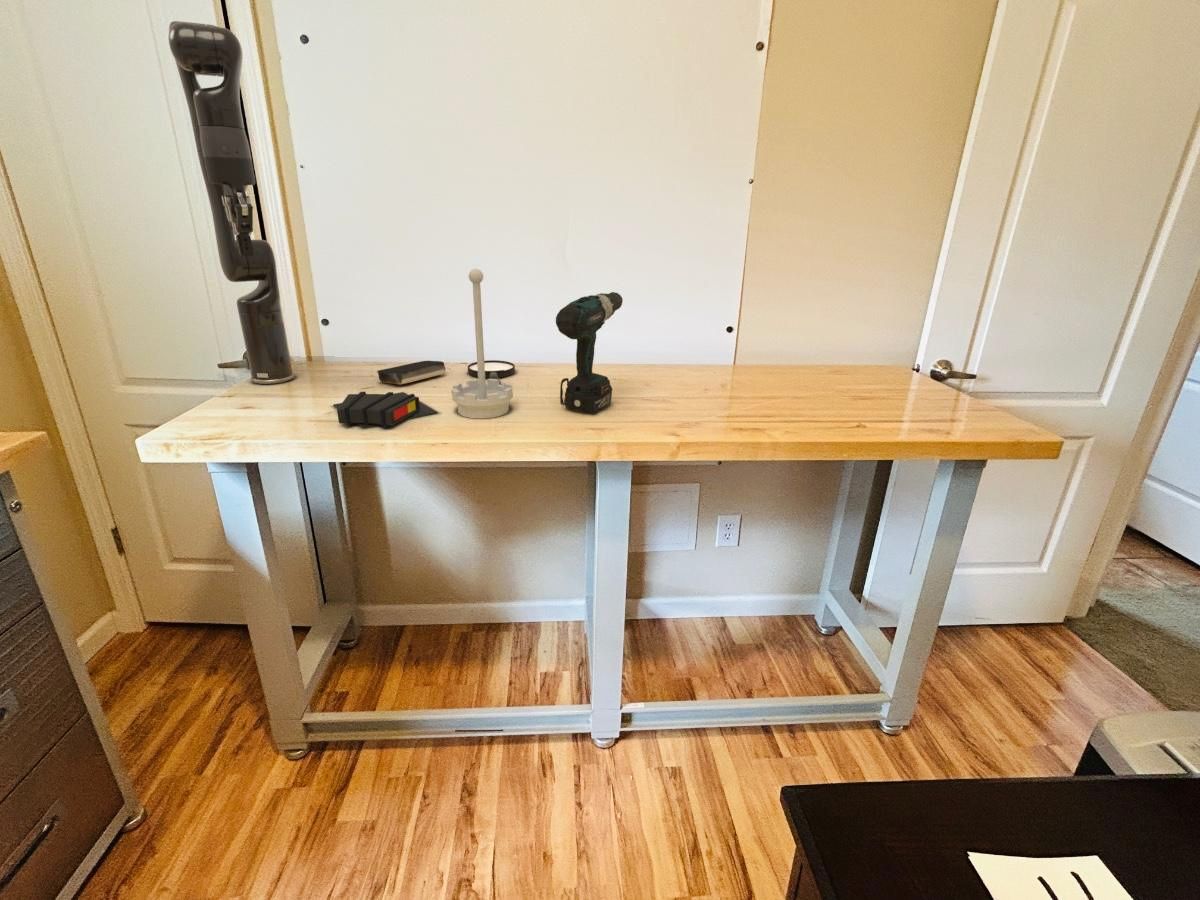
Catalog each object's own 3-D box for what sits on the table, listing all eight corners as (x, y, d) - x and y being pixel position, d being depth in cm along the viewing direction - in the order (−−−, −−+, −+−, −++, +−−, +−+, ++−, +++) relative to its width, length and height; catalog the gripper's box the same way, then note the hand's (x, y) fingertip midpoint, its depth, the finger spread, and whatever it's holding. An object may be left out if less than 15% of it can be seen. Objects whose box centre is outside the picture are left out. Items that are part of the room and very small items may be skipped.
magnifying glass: (471, 392, 145) (470, 384, 144) (466, 367, 166) (466, 360, 165) (523, 390, 148) (523, 381, 147) (512, 365, 169) (512, 358, 168)
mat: (333, 406, 134) (333, 404, 133) (403, 393, 143) (402, 391, 143) (363, 428, 121) (363, 426, 121) (437, 413, 131) (437, 411, 130)
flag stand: (514, 418, 128) (508, 272, 117) (451, 420, 126) (439, 272, 115) (512, 400, 140) (508, 265, 129) (455, 401, 138) (445, 265, 127)
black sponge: (396, 389, 146) (395, 374, 145) (375, 382, 151) (374, 368, 149) (449, 376, 158) (448, 362, 157) (428, 370, 163) (427, 357, 162)
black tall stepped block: (361, 404, 134) (421, 411, 130) (320, 423, 122) (385, 431, 119) (358, 387, 133) (419, 394, 129) (317, 405, 121) (382, 413, 117)
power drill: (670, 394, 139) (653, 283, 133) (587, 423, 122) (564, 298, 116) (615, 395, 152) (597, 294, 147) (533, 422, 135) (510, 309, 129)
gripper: (259, 156, 107) (277, 258, 114) (242, 158, 117) (259, 252, 123) (210, 153, 103) (232, 259, 109) (197, 156, 112) (217, 254, 119)
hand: (246, 255), depth 116 cm, fingers closed
